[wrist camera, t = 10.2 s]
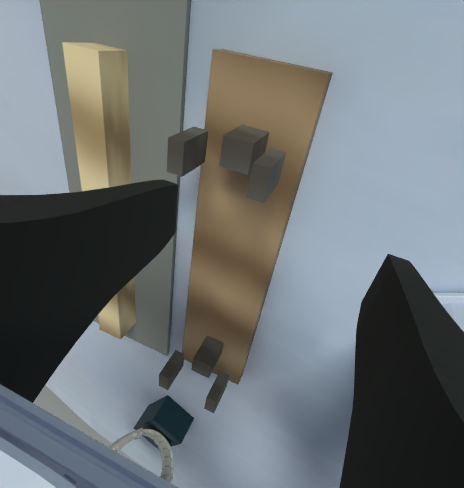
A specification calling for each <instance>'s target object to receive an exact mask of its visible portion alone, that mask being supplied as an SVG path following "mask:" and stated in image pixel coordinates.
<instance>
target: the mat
mask: <svg viewBox="0 0 464 488" xmlns="http://www.w3.org/2000/svg"><path fill="white" fill-rule="evenodd" d="M39 1H40V7H41V13H42V20H43V26H44V32H45V39H46V45H47V51H48V58H49V64H50V71H51V77H52V83H53V90H54V96H55V102H56V109H57V115H58V121H59V128H60V134H61V141H62V147H63V153H64V160H65V166H66V172H67V179H68V185H69V191H70V193H72V192H81V191H82V188H81V181H80V173H79V166H78V158H77V151H76V143H75V136H74V128H73V120H72V113H71V105H70V98H69V90H68V83H67V75H66V67H65V60H64V52H63V45H62V42H74V43H97V44H101V45H105V46H110V47H114V48H118V49H123V50H127V62H128V93H129V123H130V154H131V183H137V182H143V181H150V180H167V181H170V182H173V183H176V184H178V199H179V183H180V176H178V175H175V174H172V173H169V172H167V150H168V137H170V136H173V135H175V134H177V133H180V132H182V131H183V118H184V102H185V86H186V70H187V54H188V37H189V21H190V5H191V0H39ZM177 215H178V201H177ZM176 232H177V218H176ZM175 248H176V233H175V234H174V235H173V237H172V238H171V240H170V241H169V242H168V244H167V245H166V246H165V247H164V248H163V250H162V251H161V252H160V253H159V254H158V255H157V256H156V257H155V258H154V259H153V260H152V261H151V262H150V263H149V264H148V265H147V266H146V267H144V268H143V269H142V270H141V271H140V272H139V273H138V274H137V275H136V276H135V308H136V323H135V324H134V325H133V326H132V327H131V329H130V330H129V331H128V332H127V333H126V334H125V336H127V337H129V338H131V339H133V340H135V341H137V342H139V343H141V344H143V345H145V346H148V347H150V348H152V349H154V350H156V351H158V352H160V353H162V354H164V355H166V356H167V355H168V354H169V345H170V329H171V313H172V296H173V280H174V264H175ZM93 321H95V322H97V323H99V317H98V315H97V317H96V318H95V319H94V320H93Z"/></svg>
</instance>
